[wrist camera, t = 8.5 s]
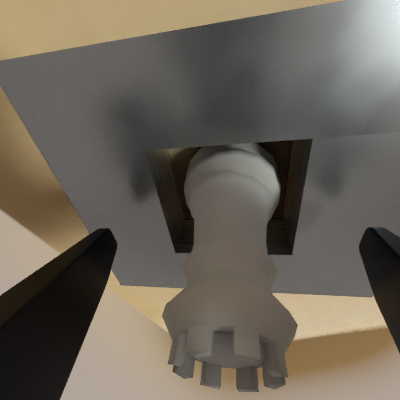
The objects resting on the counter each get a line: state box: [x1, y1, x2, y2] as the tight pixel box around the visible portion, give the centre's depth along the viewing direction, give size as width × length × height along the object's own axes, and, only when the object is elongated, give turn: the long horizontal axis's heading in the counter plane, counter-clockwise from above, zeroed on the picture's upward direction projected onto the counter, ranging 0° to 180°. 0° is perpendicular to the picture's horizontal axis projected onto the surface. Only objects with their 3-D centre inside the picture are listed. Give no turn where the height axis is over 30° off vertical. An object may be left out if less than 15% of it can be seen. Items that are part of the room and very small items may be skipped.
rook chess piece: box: [162, 143, 297, 392], centre depth 8 cm, size 4×4×8 cm
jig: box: [0, 0, 400, 297], centre depth 10 cm, size 14×12×2 cm
